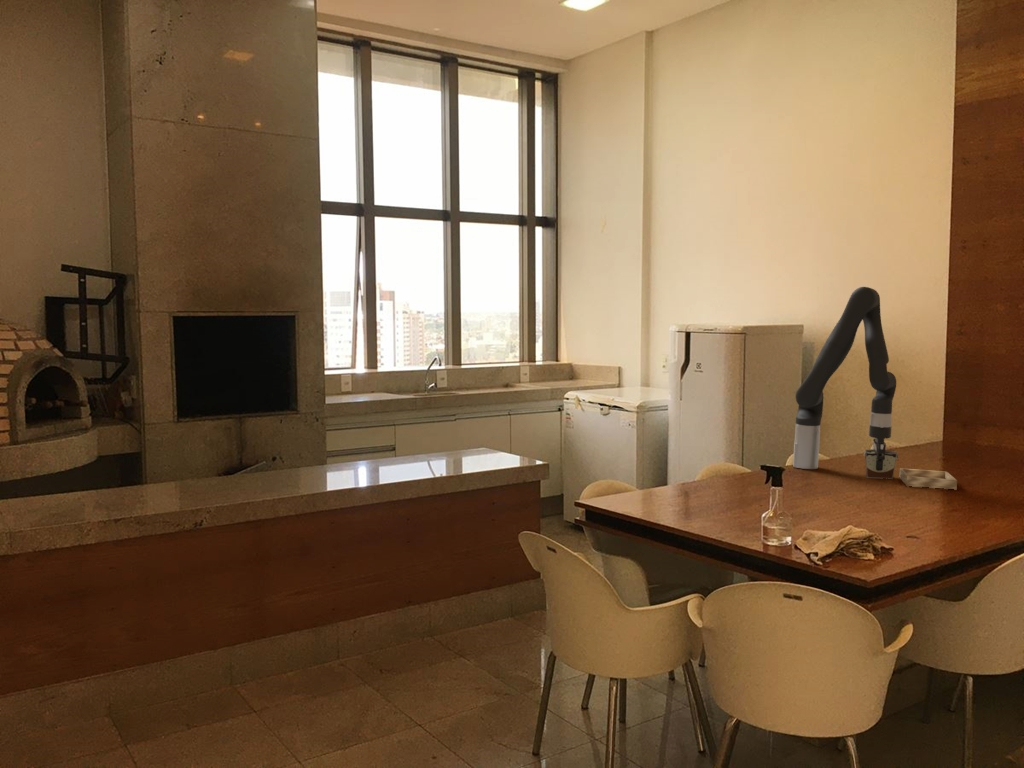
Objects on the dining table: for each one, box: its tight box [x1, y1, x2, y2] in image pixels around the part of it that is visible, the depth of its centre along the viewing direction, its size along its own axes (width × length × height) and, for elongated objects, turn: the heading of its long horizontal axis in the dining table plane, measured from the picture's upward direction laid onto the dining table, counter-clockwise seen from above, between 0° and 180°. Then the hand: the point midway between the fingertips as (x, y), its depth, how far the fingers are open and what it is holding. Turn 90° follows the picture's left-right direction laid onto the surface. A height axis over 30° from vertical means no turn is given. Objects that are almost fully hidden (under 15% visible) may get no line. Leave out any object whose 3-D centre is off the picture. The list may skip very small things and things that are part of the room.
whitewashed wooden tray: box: [899, 467, 958, 491], centre depth 295 cm, size 16×16×4 cm
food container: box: [863, 448, 899, 480], centre depth 305 cm, size 12×6×10 cm, turn 84°
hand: (877, 468), depth 305 cm, fingers closed on food container, 6 cm apart
